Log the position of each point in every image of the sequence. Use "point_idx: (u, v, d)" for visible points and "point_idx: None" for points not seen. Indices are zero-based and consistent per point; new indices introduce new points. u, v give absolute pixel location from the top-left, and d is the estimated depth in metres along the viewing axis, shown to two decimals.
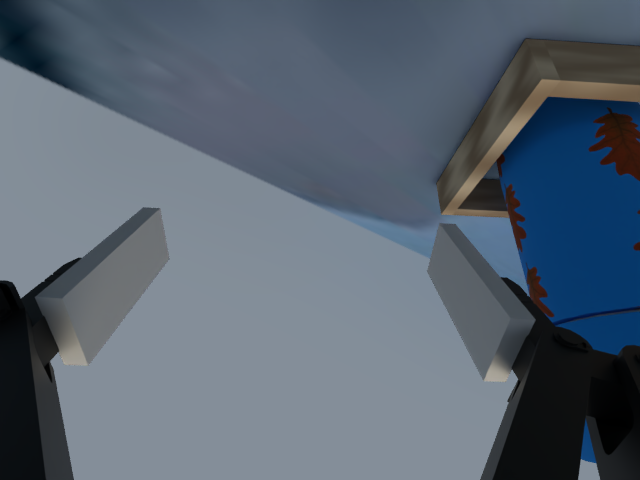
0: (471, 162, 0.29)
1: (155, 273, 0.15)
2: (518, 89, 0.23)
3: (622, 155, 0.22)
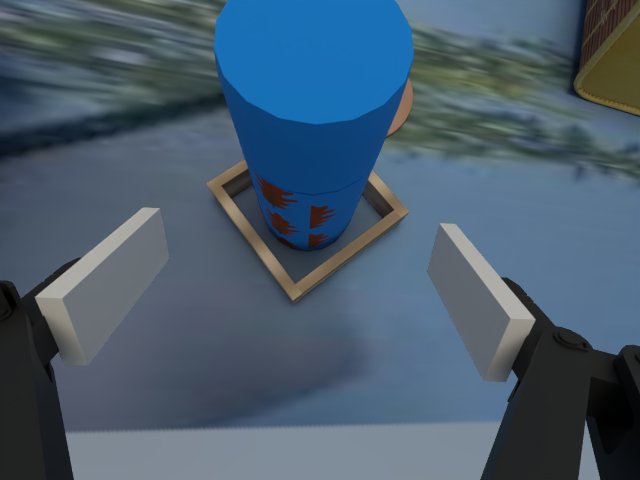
0: (253, 248, 0.36)
1: (155, 273, 0.15)
2: (218, 200, 0.38)
3: None
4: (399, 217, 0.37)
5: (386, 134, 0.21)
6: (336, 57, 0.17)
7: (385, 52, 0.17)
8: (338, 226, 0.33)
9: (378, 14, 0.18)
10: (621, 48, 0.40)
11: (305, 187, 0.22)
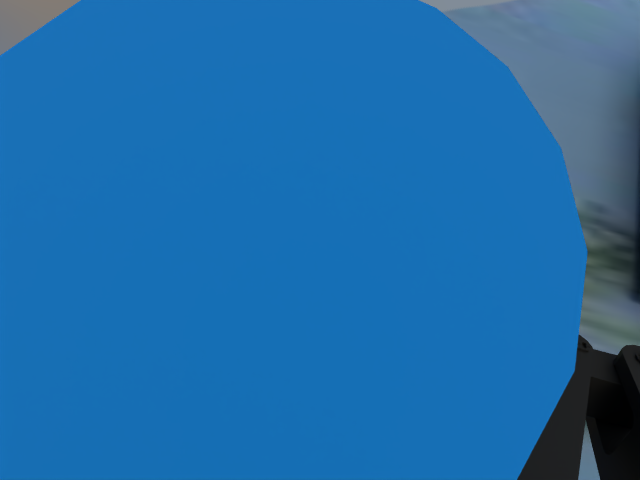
0: None
1: None
2: None
3: None
4: None
5: None
6: (324, 273, 0.05)
7: (489, 245, 0.05)
8: None
9: (455, 105, 0.06)
10: None
11: None
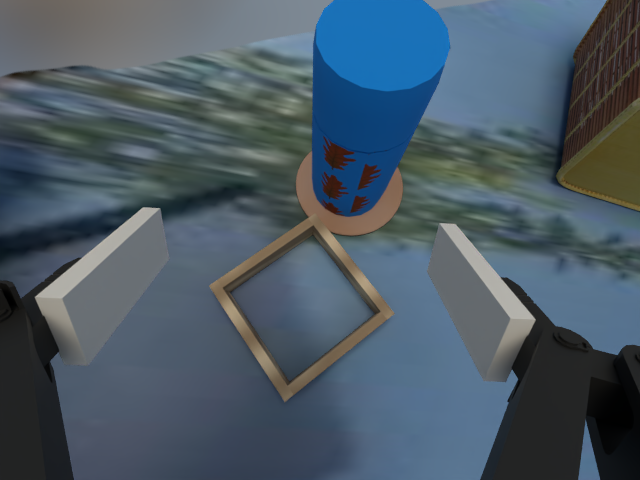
0: None
1: (155, 274, 0.15)
2: None
3: None
4: (385, 319, 0.40)
5: (426, 105, 0.29)
6: (397, 48, 0.25)
7: (430, 45, 0.25)
8: (378, 190, 0.41)
9: (424, 20, 0.26)
10: (597, 156, 0.43)
11: (365, 146, 0.30)
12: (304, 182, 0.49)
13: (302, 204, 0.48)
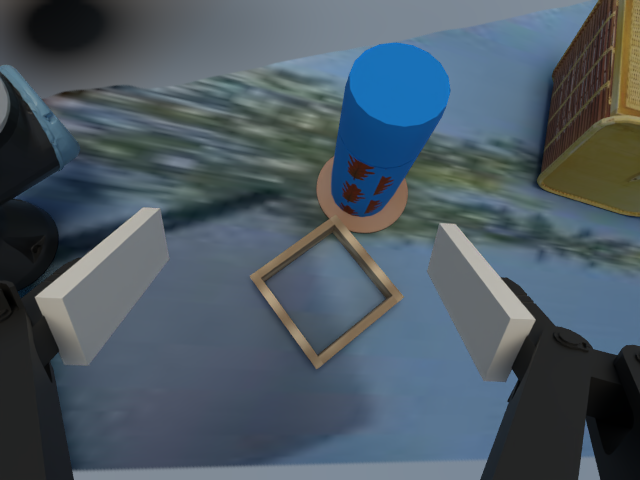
0: None
1: (155, 274, 0.15)
2: None
3: None
4: (396, 301, 0.49)
5: None
6: (411, 92, 0.33)
7: (435, 90, 0.34)
8: (389, 195, 0.50)
9: (431, 69, 0.34)
10: (569, 165, 0.52)
11: (384, 163, 0.39)
12: (323, 187, 0.57)
13: (323, 207, 0.56)
